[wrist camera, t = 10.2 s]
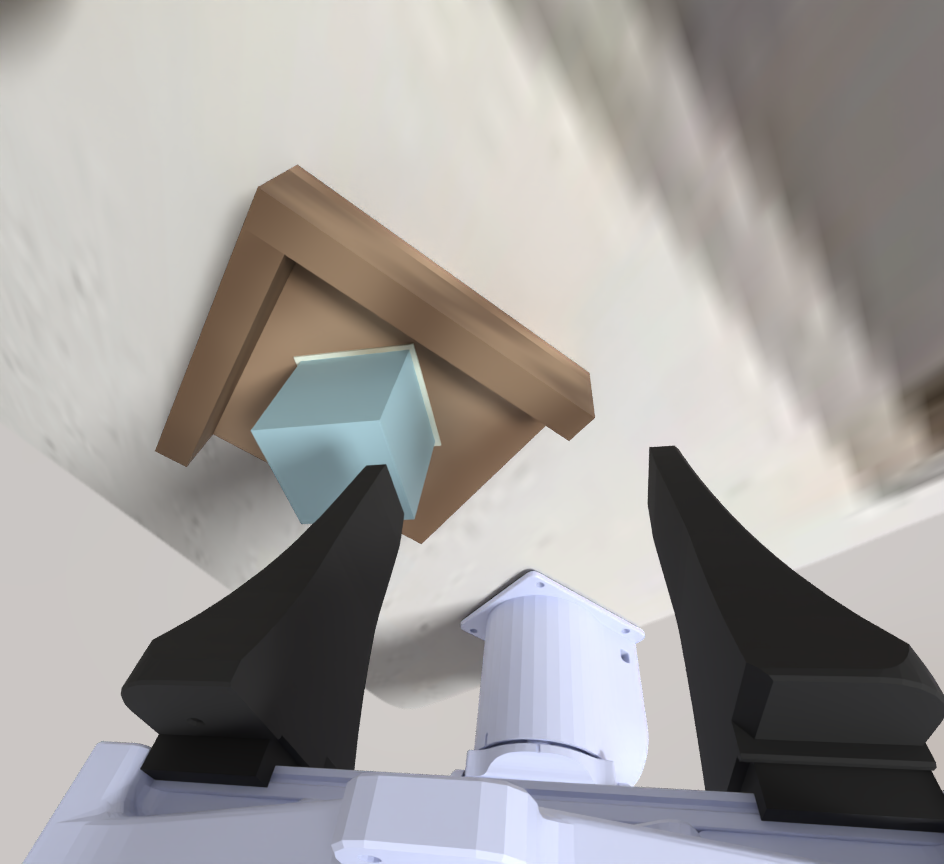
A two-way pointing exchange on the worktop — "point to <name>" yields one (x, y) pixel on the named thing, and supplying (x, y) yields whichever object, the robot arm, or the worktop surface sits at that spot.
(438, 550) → the worktop surface
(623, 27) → the worktop surface
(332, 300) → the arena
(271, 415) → the cube
